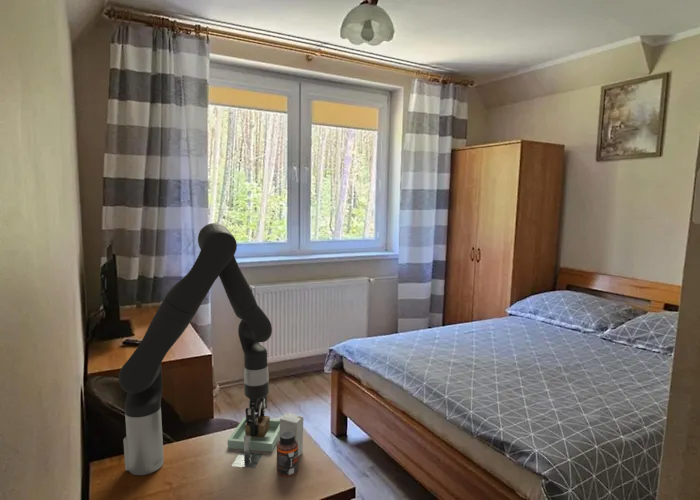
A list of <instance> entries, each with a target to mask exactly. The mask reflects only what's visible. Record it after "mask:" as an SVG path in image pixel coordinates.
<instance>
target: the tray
mask: <svg viewBox="0 0 700 500" xmlns="http://www.w3.org/2000/svg"><path fill="white" fill-rule="evenodd" d="M245 424H246V416H244V417H243V418H242V420H241V421H240V422H239V424H238V425H237V426H236V428H235V429H234V431H233V432H232V433H231V435H230V436H229V438H228V439H227V449H235V450H244V436H245ZM279 437H280V419H274V418H273V419H272V418H270V428H269V430H268V432H267V434H266V435H265V437H264V438H259V437H250V451H259V452H272V453H273V451H274V449H275V447H276V446H277V443H278V441H279Z"/></svg>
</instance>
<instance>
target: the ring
mask: <svg viewBox="0 0 700 500" xmlns="http://www.w3.org/2000/svg"><path fill="white" fill-rule="evenodd" d="M255 419H256V417H255ZM270 419H271V418H270V415H264V416H260V417H258V434H257V436H251V435H250V426H247V422H246V424H245V435H249V437H259V438H264V437H265V435H266V434H267V432H268V430H269V428H270Z"/></svg>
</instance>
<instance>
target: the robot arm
mask: <svg viewBox="0 0 700 500" xmlns="http://www.w3.org/2000/svg"><path fill="white" fill-rule="evenodd" d="M197 243H198V247H199V249H200V251H199V254H198V256H197V258H196V260H195V262H193V265H192V266H191V269H190V270H189V271H188V273H186V275H185V276H184V277H182V278H181V279H180V280H179V281H177V282H176V283H175V284H174V285H173V286H172V287H171V288H170V290H169V291H168V292H167V294H166V295H165V297H164V298H163V300H162V301H161V303H160V305H159V306H158V309H157V310H156V312H155V313H154V316H153V318H152V319H151V322H150V323H149V324H148V325H149V326H148V327H147V330H146V331H145V334H144V335H143V338H142V339H141V341H140V343H139V344H138V346H137V348H136V349H135V350H134V351H133V353H132V354H131V355H130V357H129V358H128V360H126V362H125V363H124V364H123V365H122V366H121V368H120V370H119V373H118V382H119V386H120V388H121V389H122V390H123V391H124V392H126V393H127V394H126V395H127V396H126V399H125V402H124V416H125V430H126V431H125V434H126V436H125V437H124V438H123V439H122V440H123V441H122V442H123V453H124V455H123V456H124V468H125V472H129V473H130V474H131V475H134V476H145V475H149V474H152V473H154V472H156V471H158V470H159V469H160V468H162V466H163V465H164V461H165V460H164V443H163V442H164V441H163V439H164V438H163V425H162V407H161V405H162V404H161V403H162V395H163V372H162V371H163V370H162V363H163V360H164V358H165V357H166V355H167V354H168V352H169V351H170V349H171V348H172V347H173V346H174V344H175V343H176V342H177V341H178V340H179V339H180V337H181V336H182V335H183V333H184V332H185V330H186V329H187V328H188V327H189V325H190V323H191V322H192V320H193V318H194V317H195V316H196V314H197V312H198V310H199V308H200V307H201V305H202V303H203V301H204V299H205V298H206V296H207V295H208V294H209V291H210V290H211V288H212V286H213V285H214V283H215V281H216V280H217V279H218V277H219V279H220V281H221V284H222V287H223V289H224V292H225V294H226V297H227V299H228V302H229V304H230V306H231V307H232V310H233V313H234V314H235V316H236V317H237V318H238V319H239V320H240V322H239V324H238V338H239V342H240V345H241V348H242V351H243V356H244V357H243V358H244V361H243V362H244V371H243V381H244V382H243V383H244V385H243V387H244V388H243V390H244V391H243V392H244V396H245V397H246V398H248V399H249V401H248V408H247V407H246V408H245V417H246V422H247V426H250V435H251V436H257V434H258V417H260V416H265V413H266V410H267V408H268V395H269V392H270V391H269V390H270V387H269V386H270V384H269V383H270V381H269V367H268V350H267V348H266V347H265V346H263V345H262V344H261V343H265V342H267V341H268V340H269V339H270V338H271V336H272V333H273V327H272V323H271V321H270V319H269V318H268V316H267V314H266V313H265V312H264V311H263V309H262V308H261V307H260V306H259V305H258V302H257V300H256V298H255V296H254V293H253V291H252V289H251V286H250V285H249V283H248V281H247V279H246V277H245V275H244V274H243V271H242V270H241V268H240V266H239V264H238V262H237V259H236V257H235V254H236V252H237V249H238V243H237V239H236V237H235V236H234V235H233V233H232V232H231V231H230V230H229V228H227V227H226V226H224V225H223V224H220V223H217V222H212V223H208V224H206V225H204V226H203V227H202V228H201V229H200V231H199V233H198V235H197ZM255 417H256V419H255Z"/></svg>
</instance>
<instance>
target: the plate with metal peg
mask: <svg viewBox="0 0 700 500" xmlns="http://www.w3.org/2000/svg"><path fill="white" fill-rule="evenodd" d="M262 456H263V453H255V452H251V450H250V437H249V435H245V436H244V449H243V451H240V452H239V453H238V454H237V456H236V457H235V460H234V461H233V462H232V463H231V467H236V468H237V467H238V468H246V469H247V468H249V469H256V467H257V465H258V463H259V461H260V460H261V458H262Z"/></svg>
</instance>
